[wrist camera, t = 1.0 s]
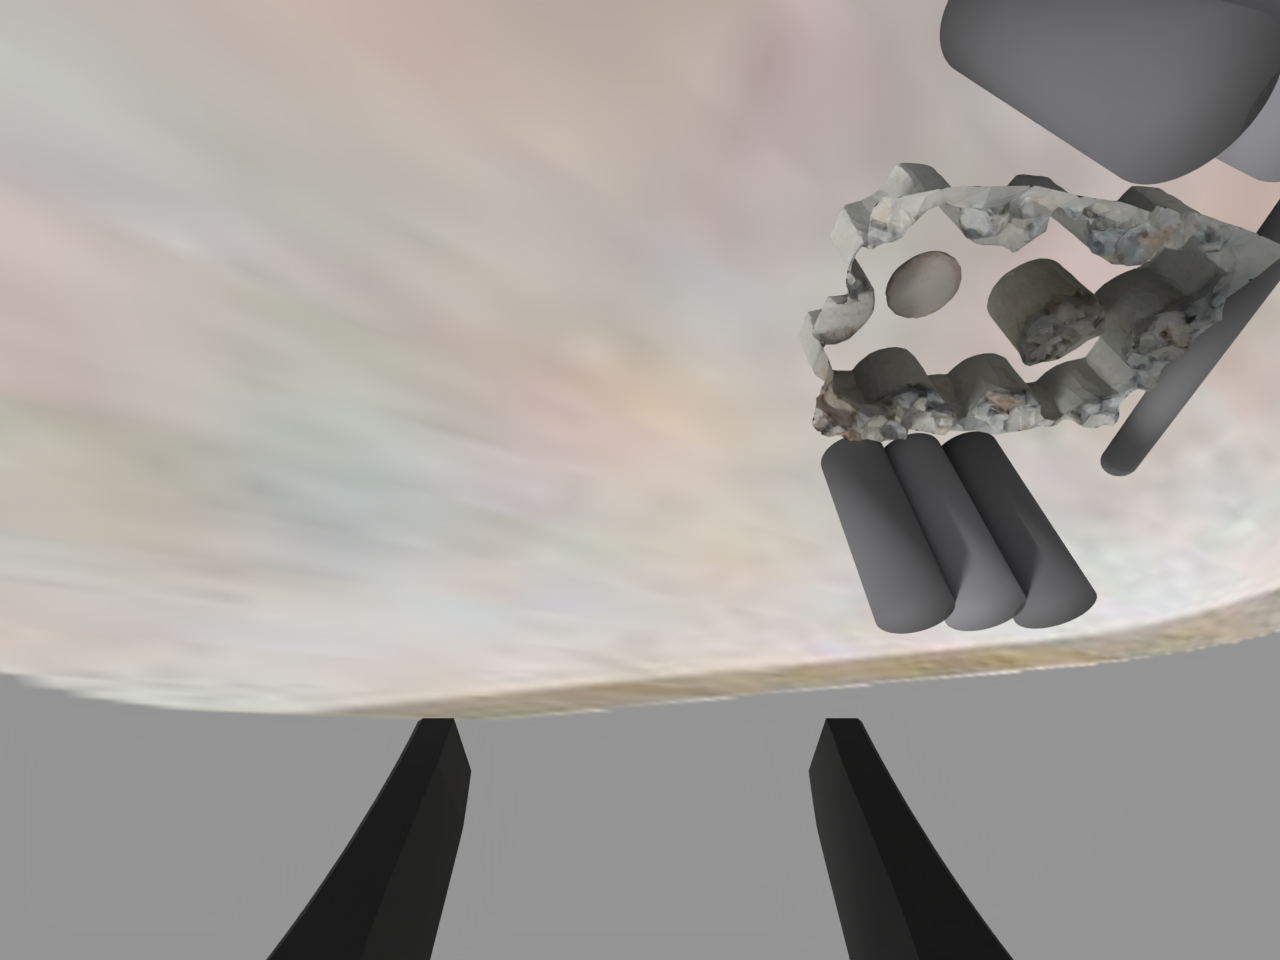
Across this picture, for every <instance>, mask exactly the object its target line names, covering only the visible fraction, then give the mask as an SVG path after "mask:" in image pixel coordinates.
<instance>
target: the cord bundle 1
mask: <svg viewBox="0 0 1280 960" xmlns="http://www.w3.org/2000/svg"><path fill="white" fill-rule="evenodd" d="M821 468H822V470H823V473H824V476H825V479H826V482H827V485H828V488H829V491H830V493H831V496H832V499H833V502H834V505H835V508H836V511H837V514H838V516H839V519H840V522H841V525H842V528H843V531H844V534H845V537H846V539H847V542H848V545H849V548H850V551H851V554H852V557H853V559H854V562H855V565H856V568H857V571H858V574H859V577H860V580H861V582H862V585H863V588H864V591H865V594H866V597H867V600H868V603H869V605H870V608H871V611H872V614H873V617H874V620H875V623H876V625H877V626H878V627H879V628H880V629H882V630H883V631H886V632H889V633H895V634H907V633H914V632H919V631H923V630H926V629H929V628H931V627H934V626H936V625H938V624H940V623H941V622H943V621H944V620H945V623H946V624H947V625H948V626H949V627H950V628H953V629H955V630H959V631H978V630H984V629H988V628H992V627H995V626H998V625H1000V624H1003V623H1005V622H1007V621H1009V620H1010V619H1012V618H1013V620H1014V621H1015V623H1016V624H1017V625H1019V626H1021V627H1024V628H1031V629H1040V628H1048V627H1053V626H1057V625H1061V624H1064V623H1066V622H1069V621H1071V620H1074V619H1076V618H1077V617H1079V616H1081V615H1083V614H1084V613H1085V612H1087V611H1088V610H1089V609H1090V608H1091V607H1092V606H1093V605H1094V604H1095V602H1096V599H1097V593H1096V592H1095V590H1094V589H1093V587H1092V586H1091V584H1090V583H1089V581H1088V579H1087V578H1086V576H1085V575H1084V573H1083V572H1082V570H1081V569H1080V567H1079V566H1078V564H1077V563H1076V561H1075V560H1074V558H1073V557H1072V555H1071V554H1070V552H1069V550H1068V549H1067V547H1066V546H1065V544H1064V543H1063V541H1062V540H1061V538H1060V537H1059V535H1058V534H1057V532H1056V531H1055V529H1054V528H1053V526H1052V525H1051V523H1050V521H1049V520H1048V518H1047V517H1046V515H1045V514H1044V512H1043V511H1042V509H1041V508H1040V506H1039V505H1038V503H1037V502H1036V500H1035V499H1034V497H1033V496H1032V494H1031V492H1030V491H1029V489H1028V488H1027V486H1026V485H1025V483H1024V482H1023V480H1022V479H1021V477H1020V476H1019V474H1018V473H1017V471H1016V470H1015V468H1014V467H1013V465H1012V463H1011V462H1010V460H1009V459H1008V457H1007V456H1006V454H1005V453H1004V451H1003V450H1002V448H1001V447H1000V445H999V444H998V442H997V441H996V439H995V438H994V437H993V436H992V435H991V434H989V433H985V432H980V431H972V432H967V433H963V434H960V435H957V436H955V437H953V438H951V439H950V440H948V441H946V442H945V443H944V444H943V445H942V446H941V444H940V442H939V441H938V440H937V439H936V438H935V437H934V436H932V435H930V434H926V433H912V434H908V435H907V438H906V440H905V439H895V440H893V441H892V442H890V443H889V444H888V445H886V446H885V447H883V445H882V443H881V442H878V441H875V440H870V439H864V440H861V441H849V440H846V439H845V438H843V439H840V440H838V441H837V442H835V443H834V444H832V445H831V446H830V447H829V448H828V449H827V450H826V451H825V453H824V454H823V456H822V459H821Z"/></svg>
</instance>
